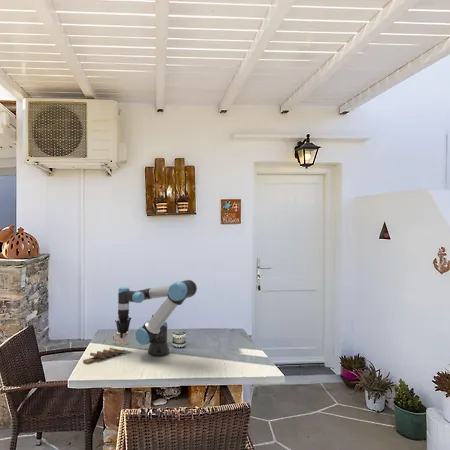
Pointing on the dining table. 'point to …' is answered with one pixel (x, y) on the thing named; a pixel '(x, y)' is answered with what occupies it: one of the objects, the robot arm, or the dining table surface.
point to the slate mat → (115, 356)
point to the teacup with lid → (118, 339)
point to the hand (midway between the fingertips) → (122, 342)
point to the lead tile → (116, 350)
